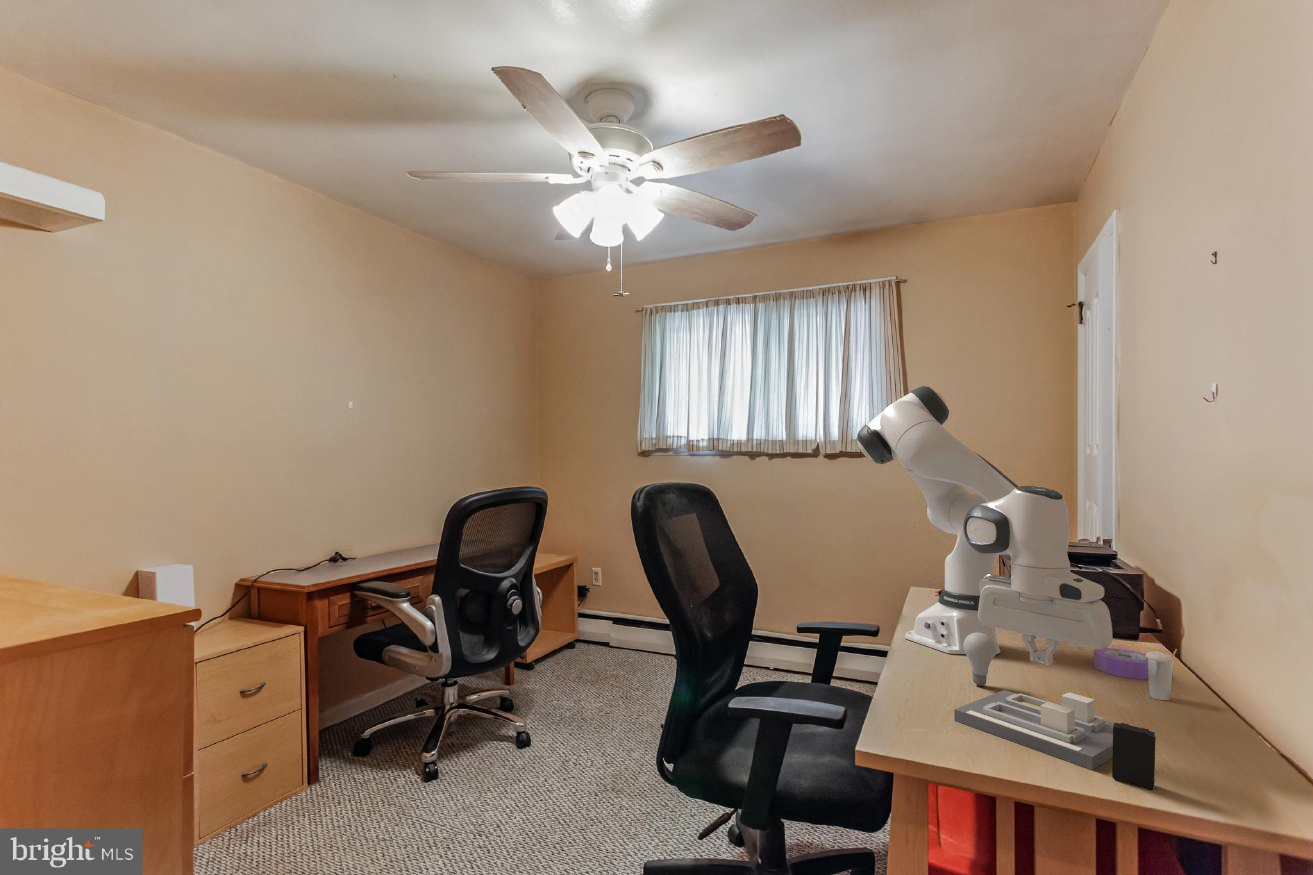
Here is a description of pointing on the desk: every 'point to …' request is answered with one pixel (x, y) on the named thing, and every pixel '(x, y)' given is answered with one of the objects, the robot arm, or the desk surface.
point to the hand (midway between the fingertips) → (1041, 662)
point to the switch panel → (1038, 728)
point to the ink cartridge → (1133, 755)
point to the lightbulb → (979, 655)
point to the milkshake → (1159, 674)
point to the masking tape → (1121, 662)
